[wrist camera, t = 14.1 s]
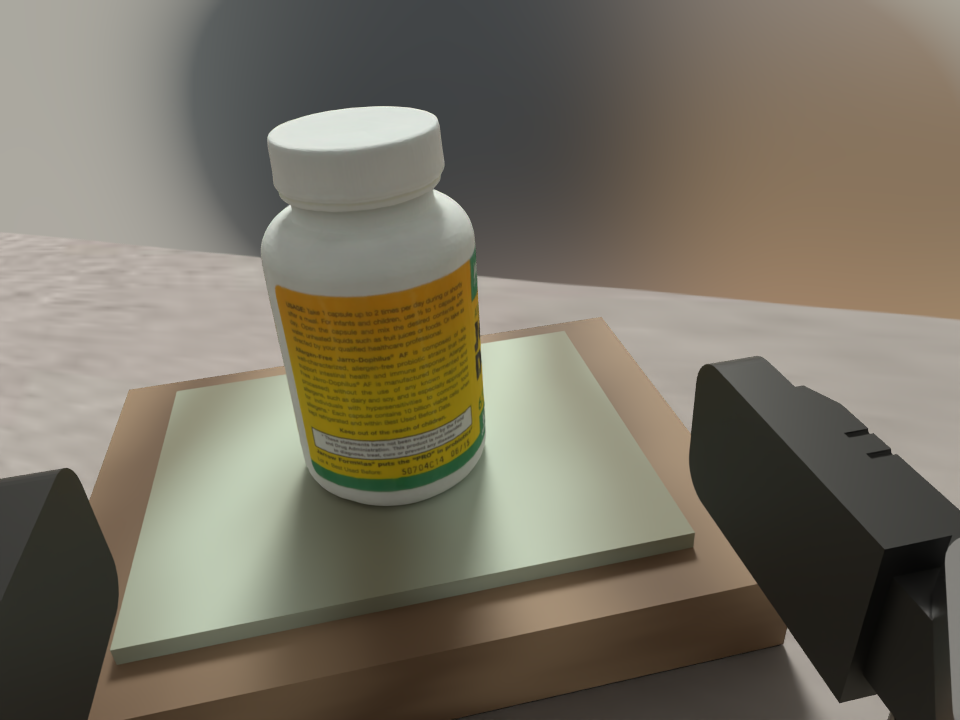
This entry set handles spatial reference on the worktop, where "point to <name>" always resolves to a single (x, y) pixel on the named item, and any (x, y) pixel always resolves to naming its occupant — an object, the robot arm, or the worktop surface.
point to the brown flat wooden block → (413, 552)
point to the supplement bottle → (375, 304)
